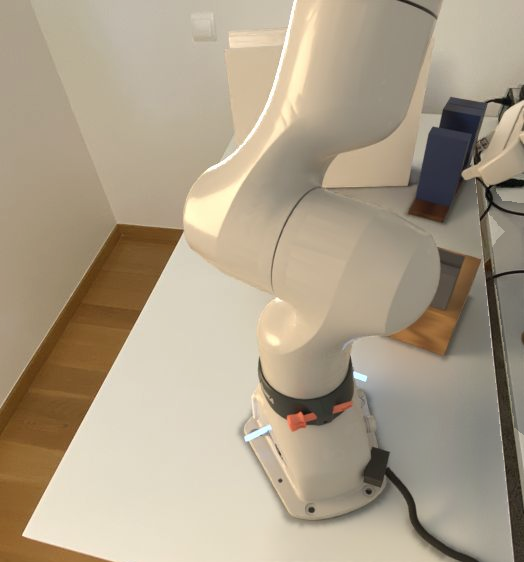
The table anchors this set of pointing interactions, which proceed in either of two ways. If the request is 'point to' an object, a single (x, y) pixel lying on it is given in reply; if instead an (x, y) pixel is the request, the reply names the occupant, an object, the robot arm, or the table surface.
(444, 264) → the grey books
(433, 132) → the navy book
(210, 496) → the table surface
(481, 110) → the book rack
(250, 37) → the block
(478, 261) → the oak shelf
